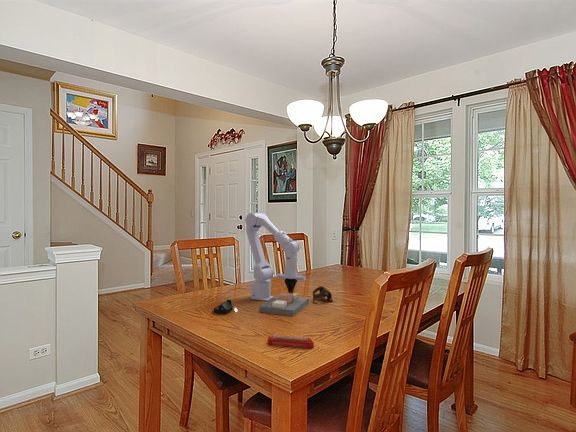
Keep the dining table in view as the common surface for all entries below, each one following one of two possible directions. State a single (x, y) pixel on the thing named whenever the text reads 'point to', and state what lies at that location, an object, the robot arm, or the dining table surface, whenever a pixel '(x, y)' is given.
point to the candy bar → (290, 341)
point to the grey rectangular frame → (288, 310)
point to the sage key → (294, 296)
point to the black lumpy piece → (224, 307)
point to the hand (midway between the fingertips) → (290, 294)
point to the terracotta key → (285, 297)
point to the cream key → (279, 304)
